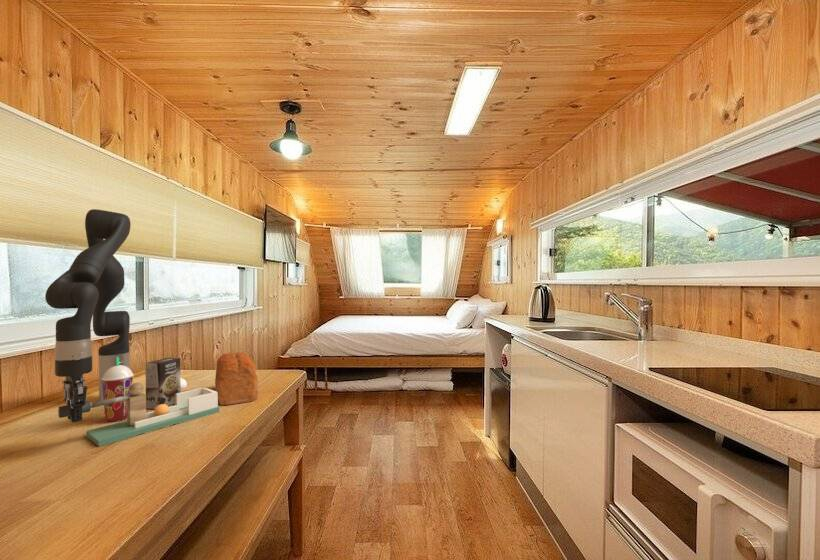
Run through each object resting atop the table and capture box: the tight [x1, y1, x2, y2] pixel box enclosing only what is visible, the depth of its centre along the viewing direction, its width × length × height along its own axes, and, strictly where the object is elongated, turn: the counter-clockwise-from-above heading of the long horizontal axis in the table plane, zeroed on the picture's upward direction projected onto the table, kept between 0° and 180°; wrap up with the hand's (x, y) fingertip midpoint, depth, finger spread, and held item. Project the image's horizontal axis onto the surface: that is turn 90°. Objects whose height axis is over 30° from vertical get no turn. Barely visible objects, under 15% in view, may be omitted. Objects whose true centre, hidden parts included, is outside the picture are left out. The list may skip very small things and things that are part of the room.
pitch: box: [85, 387, 220, 447], centre depth 116 cm, size 12×32×6 cm, turn 143°
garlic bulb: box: [180, 376, 188, 390], centre depth 154 cm, size 6×6×8 cm
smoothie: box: [101, 357, 135, 423], centre depth 120 cm, size 8×8×20 cm
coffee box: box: [145, 357, 182, 410], centre depth 133 cm, size 9×6×16 cm
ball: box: [153, 404, 170, 416], centre depth 117 cm, size 4×4×4 cm
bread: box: [214, 351, 259, 406], centre depth 145 cm, size 14×27×15 cm, turn 29°
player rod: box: [57, 382, 147, 426], centre depth 105 cm, size 4×19×12 cm, turn 143°
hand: (74, 419), depth 100 cm, fingers closed on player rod, 3 cm apart
